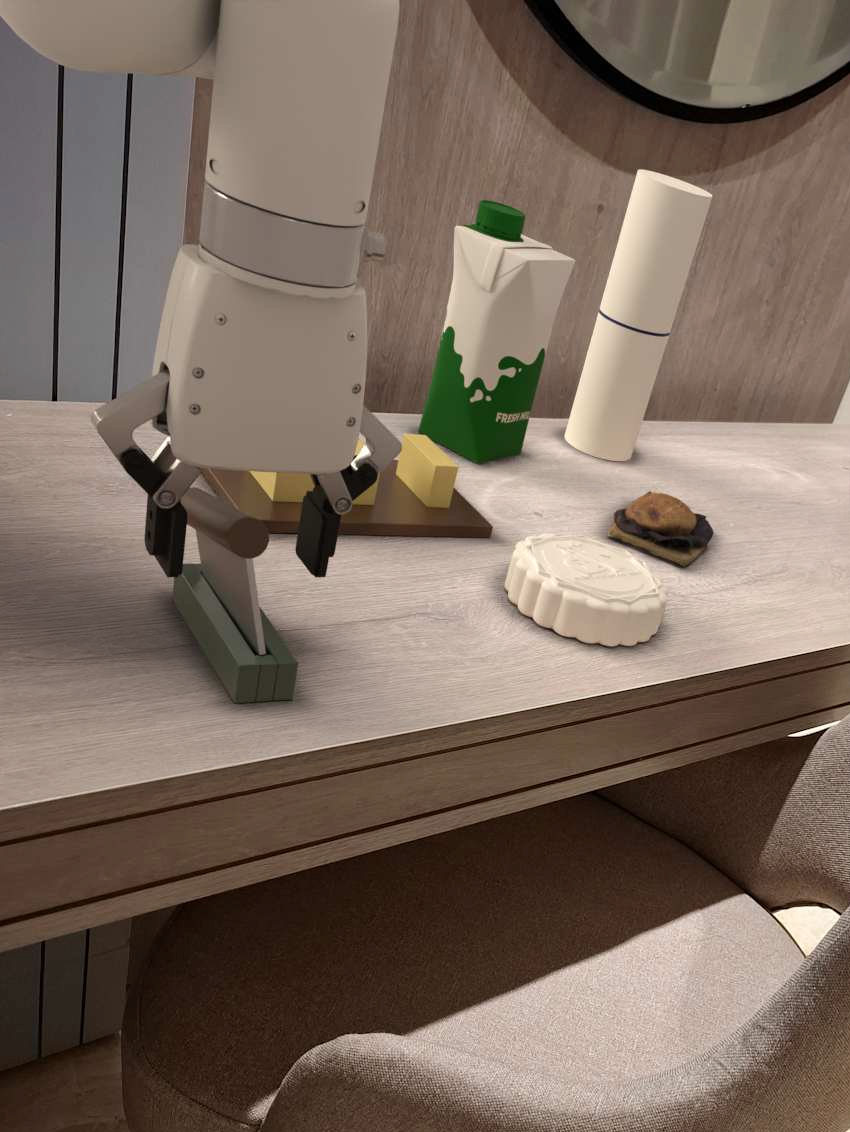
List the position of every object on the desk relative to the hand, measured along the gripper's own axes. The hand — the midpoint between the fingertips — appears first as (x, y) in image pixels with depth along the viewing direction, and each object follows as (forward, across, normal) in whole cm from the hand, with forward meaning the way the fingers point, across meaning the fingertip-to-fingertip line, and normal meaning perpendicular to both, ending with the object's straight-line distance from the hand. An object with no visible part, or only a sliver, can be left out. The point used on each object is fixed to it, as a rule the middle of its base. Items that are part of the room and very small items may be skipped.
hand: (240, 564), depth 67 cm
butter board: (+6, -16, -21) cm, 27 cm away
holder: (+6, 0, 0) cm, 6 cm away
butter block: (+5, -13, -21) cm, 25 cm away
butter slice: (+5, -22, -21) cm, 31 cm away
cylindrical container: (+6, -50, -36) cm, 62 cm away
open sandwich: (+6, -44, -16) cm, 47 cm away
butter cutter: (+4, 0, +1) cm, 4 cm away
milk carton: (+6, -34, -34) cm, 48 cm away
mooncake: (+6, -28, -4) cm, 29 cm away
